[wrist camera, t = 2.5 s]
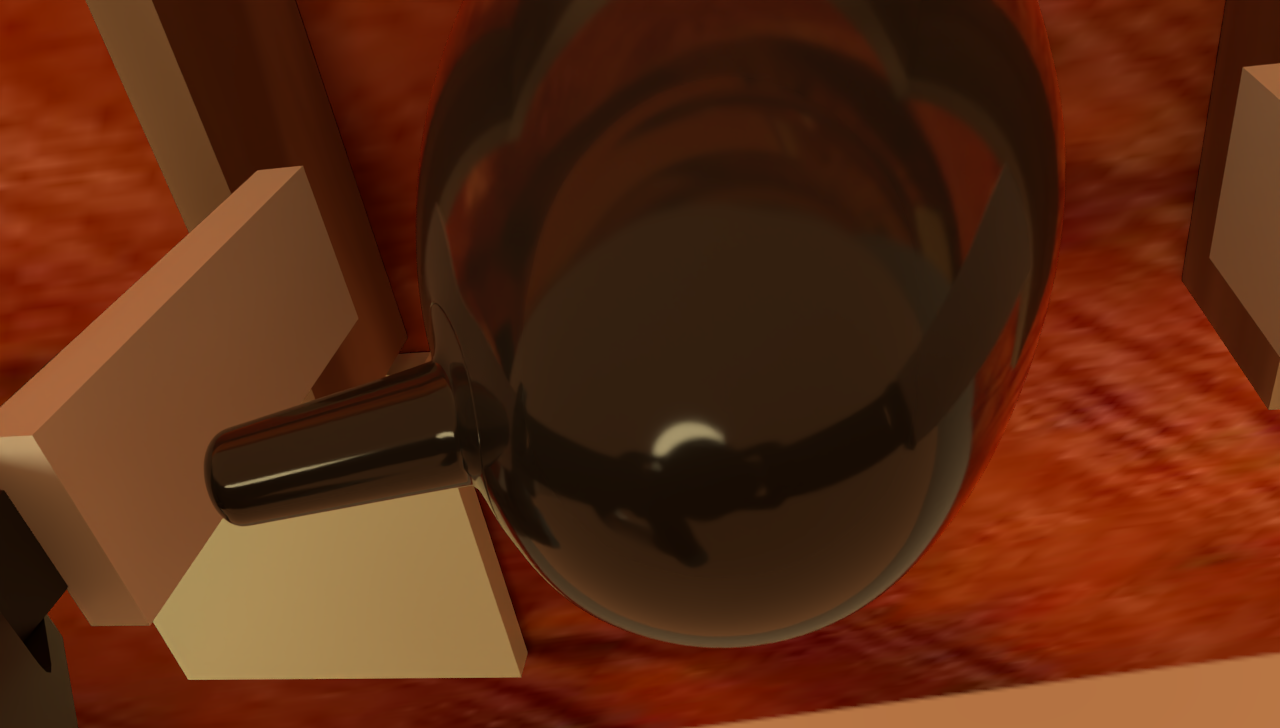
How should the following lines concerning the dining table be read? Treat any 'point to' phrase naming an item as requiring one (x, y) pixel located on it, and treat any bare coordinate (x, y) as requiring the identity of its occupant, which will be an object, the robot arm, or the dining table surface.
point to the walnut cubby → (308, 136)
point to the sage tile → (349, 594)
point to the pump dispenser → (706, 301)
